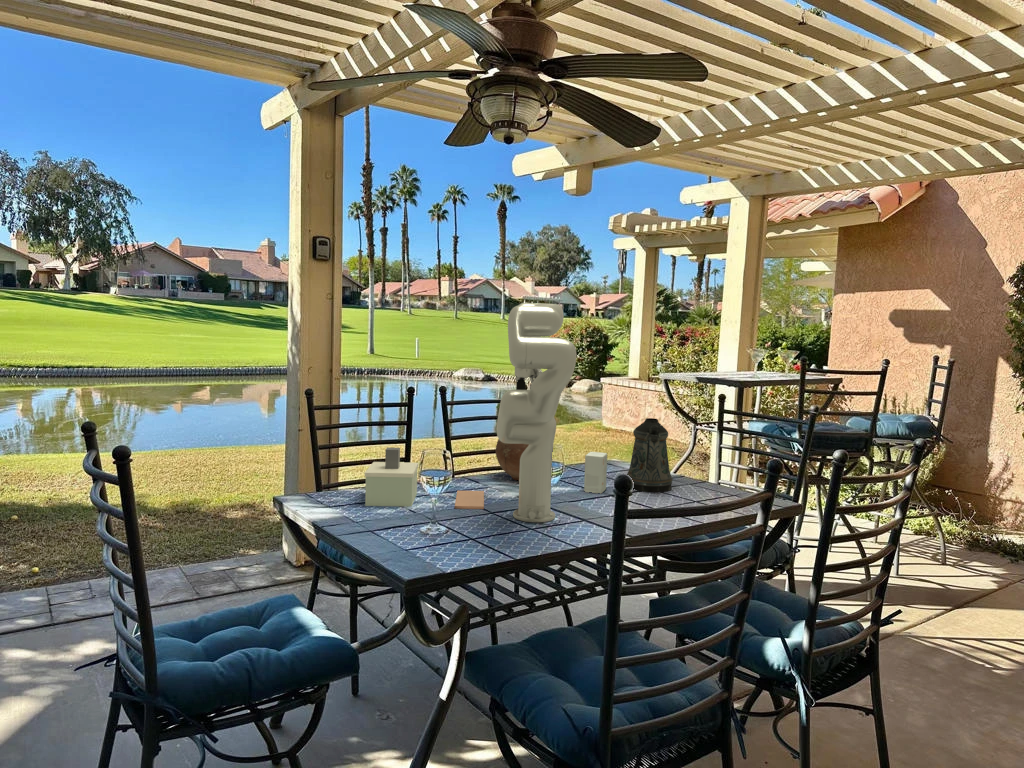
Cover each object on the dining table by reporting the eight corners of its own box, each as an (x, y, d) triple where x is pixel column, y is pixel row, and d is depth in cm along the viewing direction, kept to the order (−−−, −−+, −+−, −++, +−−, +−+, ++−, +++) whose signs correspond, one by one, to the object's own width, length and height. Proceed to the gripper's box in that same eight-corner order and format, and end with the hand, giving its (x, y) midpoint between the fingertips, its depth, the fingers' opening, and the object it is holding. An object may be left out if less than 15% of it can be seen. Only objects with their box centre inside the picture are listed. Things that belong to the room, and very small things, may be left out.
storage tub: (411, 509, 207) (412, 477, 206) (365, 508, 207) (365, 476, 206) (416, 496, 223) (417, 466, 222) (373, 495, 222) (374, 465, 222)
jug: (484, 475, 257) (486, 397, 255) (529, 470, 270) (531, 395, 267) (517, 487, 239) (520, 403, 237) (564, 481, 252) (567, 400, 250)
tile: (483, 509, 210) (483, 506, 210) (425, 508, 209) (425, 505, 209) (483, 493, 230) (483, 490, 230) (430, 492, 229) (430, 490, 229)
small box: (589, 487, 243) (590, 451, 242) (606, 489, 241) (607, 452, 240) (583, 492, 236) (584, 455, 235) (601, 494, 234) (602, 456, 233)
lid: (412, 480, 206) (413, 454, 205) (364, 479, 205) (364, 453, 205) (418, 469, 223) (418, 444, 222) (373, 468, 222) (373, 443, 221)
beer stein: (654, 481, 257) (657, 415, 254) (686, 493, 239) (690, 422, 237) (616, 483, 250) (619, 416, 248) (646, 496, 232) (649, 423, 230)
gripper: (507, 342, 227) (505, 392, 229) (531, 343, 212) (529, 398, 213) (527, 342, 231) (525, 392, 232) (552, 343, 215) (550, 397, 217)
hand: (527, 395), depth 223 cm, fingers open, 9 cm apart
